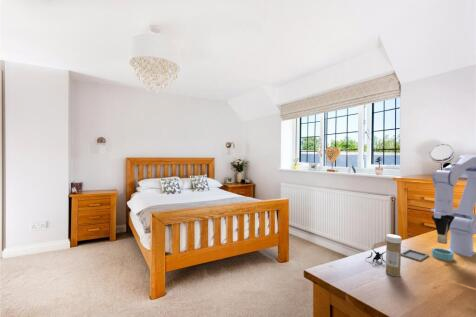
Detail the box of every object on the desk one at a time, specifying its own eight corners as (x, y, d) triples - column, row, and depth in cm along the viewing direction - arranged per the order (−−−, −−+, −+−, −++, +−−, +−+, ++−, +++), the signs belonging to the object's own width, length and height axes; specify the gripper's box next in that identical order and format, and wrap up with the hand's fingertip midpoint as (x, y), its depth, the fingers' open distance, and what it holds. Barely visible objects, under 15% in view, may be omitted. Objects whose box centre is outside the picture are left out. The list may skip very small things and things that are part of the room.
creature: (386, 272, 91) (390, 261, 96) (385, 259, 90) (390, 248, 95) (362, 265, 96) (368, 255, 101) (362, 253, 95) (368, 243, 100)
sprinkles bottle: (403, 274, 86) (404, 236, 86) (396, 278, 84) (397, 238, 84) (389, 269, 90) (390, 232, 90) (382, 272, 88) (383, 235, 87)
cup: (435, 253, 105) (435, 246, 105) (455, 259, 100) (455, 252, 100) (429, 257, 101) (429, 250, 101) (449, 263, 96) (450, 255, 96)
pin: (438, 240, 102) (439, 221, 102) (448, 243, 100) (448, 223, 100) (436, 242, 100) (437, 222, 100) (445, 244, 98) (446, 224, 98)
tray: (409, 251, 107) (409, 249, 107) (428, 257, 101) (428, 254, 101) (399, 256, 102) (400, 253, 102) (420, 262, 96) (420, 259, 96)
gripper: (437, 197, 107) (436, 228, 107) (425, 200, 99) (423, 233, 99) (459, 199, 101) (457, 232, 102) (447, 203, 93) (446, 239, 93)
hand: (442, 233), depth 100 cm, fingers closed on pin, 3 cm apart
